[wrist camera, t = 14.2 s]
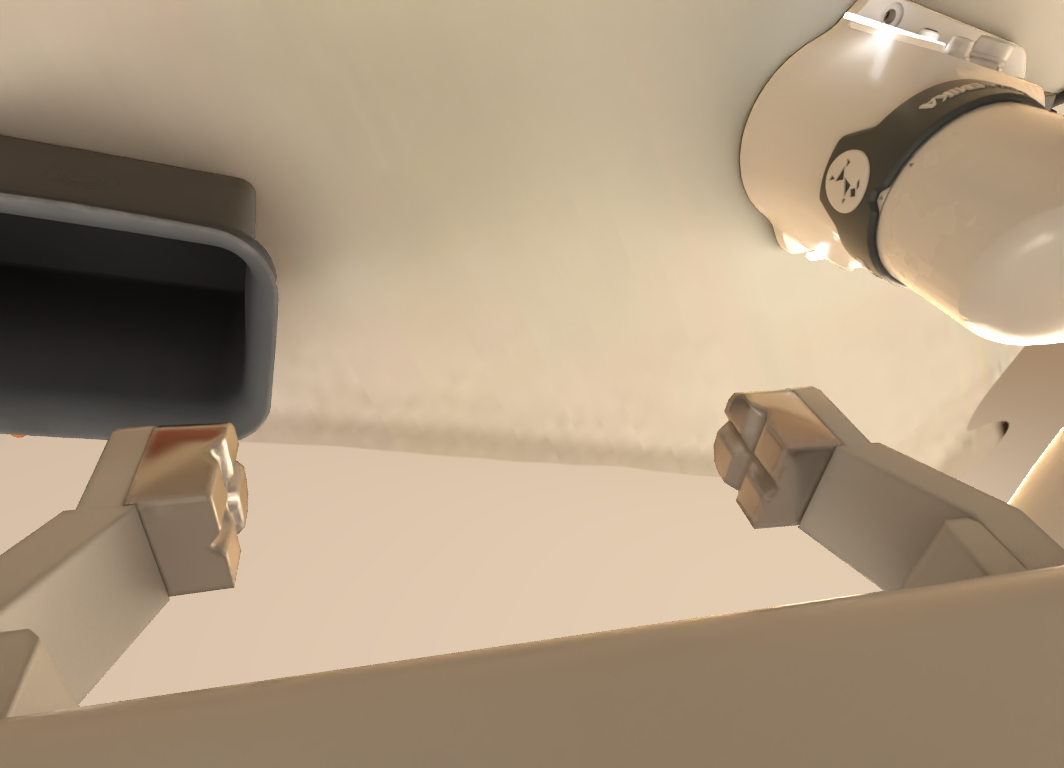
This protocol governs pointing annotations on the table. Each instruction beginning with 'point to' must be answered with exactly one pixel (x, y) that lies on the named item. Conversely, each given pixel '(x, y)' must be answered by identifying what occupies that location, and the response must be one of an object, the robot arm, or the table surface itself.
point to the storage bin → (129, 296)
